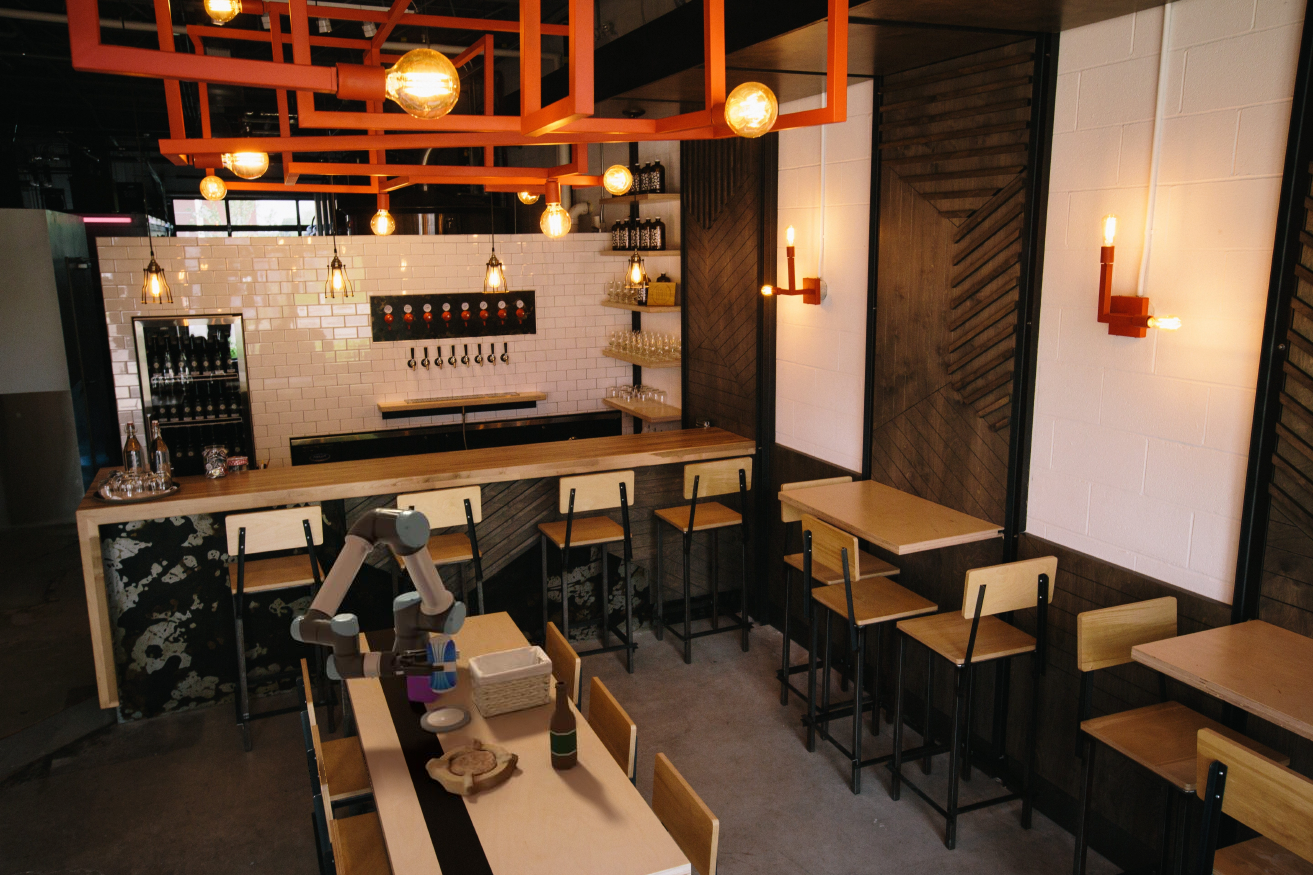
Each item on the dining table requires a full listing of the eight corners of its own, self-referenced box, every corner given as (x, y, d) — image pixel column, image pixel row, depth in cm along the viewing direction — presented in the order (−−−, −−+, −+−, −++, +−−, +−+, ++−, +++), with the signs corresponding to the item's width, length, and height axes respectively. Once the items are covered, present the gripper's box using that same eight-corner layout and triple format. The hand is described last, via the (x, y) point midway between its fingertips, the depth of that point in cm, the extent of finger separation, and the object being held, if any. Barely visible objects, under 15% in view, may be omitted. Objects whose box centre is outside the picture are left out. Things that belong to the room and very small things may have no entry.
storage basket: (540, 684, 291) (538, 642, 289) (555, 704, 277) (553, 661, 274) (469, 700, 281) (466, 657, 279) (481, 722, 267) (478, 677, 264)
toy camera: (452, 685, 292) (450, 657, 290) (438, 705, 278) (436, 675, 276) (421, 684, 293) (419, 656, 291) (405, 704, 279) (403, 675, 278)
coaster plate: (425, 709, 275) (425, 706, 275) (473, 706, 276) (473, 703, 276) (416, 733, 260) (416, 730, 260) (467, 730, 262) (467, 727, 261)
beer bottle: (583, 758, 245) (579, 678, 241) (571, 772, 238) (568, 690, 234) (558, 753, 248) (554, 674, 243) (545, 768, 240) (541, 687, 236)
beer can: (432, 682, 270) (428, 633, 268) (459, 680, 271) (456, 632, 268) (427, 695, 262) (423, 644, 259) (455, 693, 263) (452, 643, 260)
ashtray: (441, 807, 224) (439, 789, 223) (420, 763, 245) (419, 747, 244) (528, 781, 235) (528, 764, 234) (501, 741, 256) (501, 725, 255)
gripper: (389, 661, 274) (462, 657, 276) (374, 691, 254) (453, 687, 256) (388, 638, 273) (461, 635, 275) (372, 667, 253) (451, 663, 254)
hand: (457, 660), depth 265 cm, fingers closed on beer can, 8 cm apart
